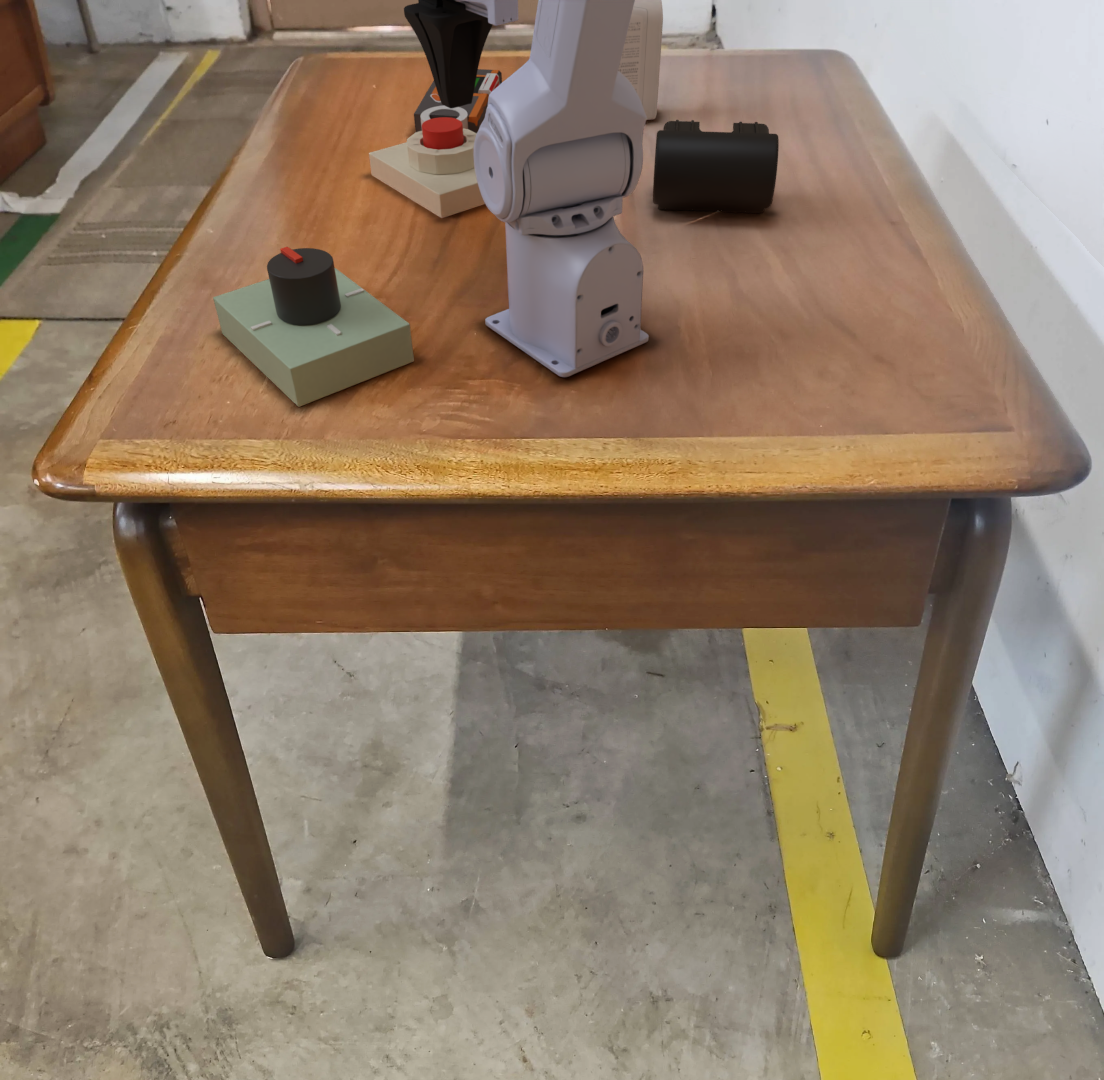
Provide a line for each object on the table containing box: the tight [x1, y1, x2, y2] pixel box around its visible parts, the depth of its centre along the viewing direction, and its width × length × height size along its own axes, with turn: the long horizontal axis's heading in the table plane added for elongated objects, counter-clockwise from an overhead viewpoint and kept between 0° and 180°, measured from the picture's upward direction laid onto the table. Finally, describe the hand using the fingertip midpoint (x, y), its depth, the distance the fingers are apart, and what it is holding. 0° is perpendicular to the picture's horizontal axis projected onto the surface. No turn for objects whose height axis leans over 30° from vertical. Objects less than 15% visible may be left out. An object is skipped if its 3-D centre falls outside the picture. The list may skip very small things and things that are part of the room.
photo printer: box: [618, 0, 664, 121], centre depth 101 cm, size 10×4×12 cm, turn 103°
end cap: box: [652, 119, 780, 214], centre depth 87 cm, size 10×7×7 cm
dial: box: [266, 246, 341, 325], centre depth 69 cm, size 4×4×4 cm
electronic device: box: [413, 68, 503, 133], centre depth 105 cm, size 7×3×15 cm
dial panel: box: [212, 267, 415, 407], centre depth 72 cm, size 12×9×3 cm
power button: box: [422, 117, 464, 150], centre depth 91 cm, size 4×4×2 cm
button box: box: [368, 129, 486, 219], centre depth 92 cm, size 12×9×4 cm
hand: (456, 103), depth 80 cm, fingers closed
